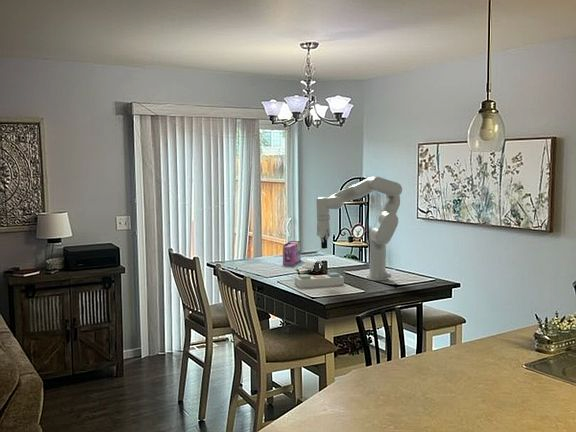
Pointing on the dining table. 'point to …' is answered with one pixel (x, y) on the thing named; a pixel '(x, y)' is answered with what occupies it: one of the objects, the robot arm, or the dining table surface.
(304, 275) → the sage button
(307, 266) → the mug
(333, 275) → the slate button
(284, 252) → the gum box
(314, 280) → the button panel
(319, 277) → the terracotta button
